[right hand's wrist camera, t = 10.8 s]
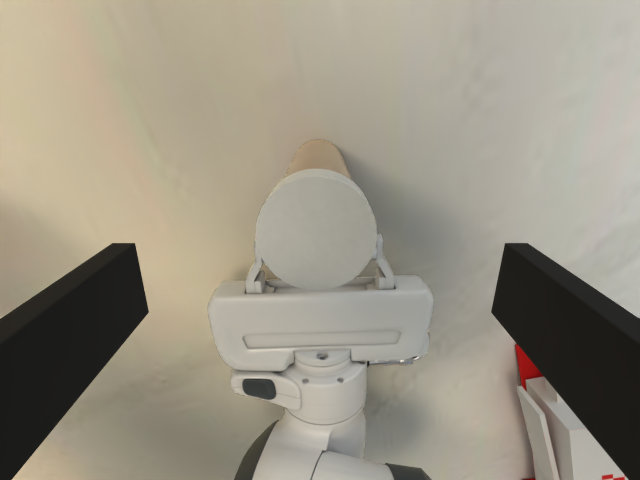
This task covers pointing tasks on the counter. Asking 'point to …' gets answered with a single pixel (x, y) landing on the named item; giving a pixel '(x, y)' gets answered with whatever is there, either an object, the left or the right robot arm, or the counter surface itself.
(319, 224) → the lid
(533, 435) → the toy
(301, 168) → the tan brown cylinder
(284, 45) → the counter surface
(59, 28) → the counter surface
